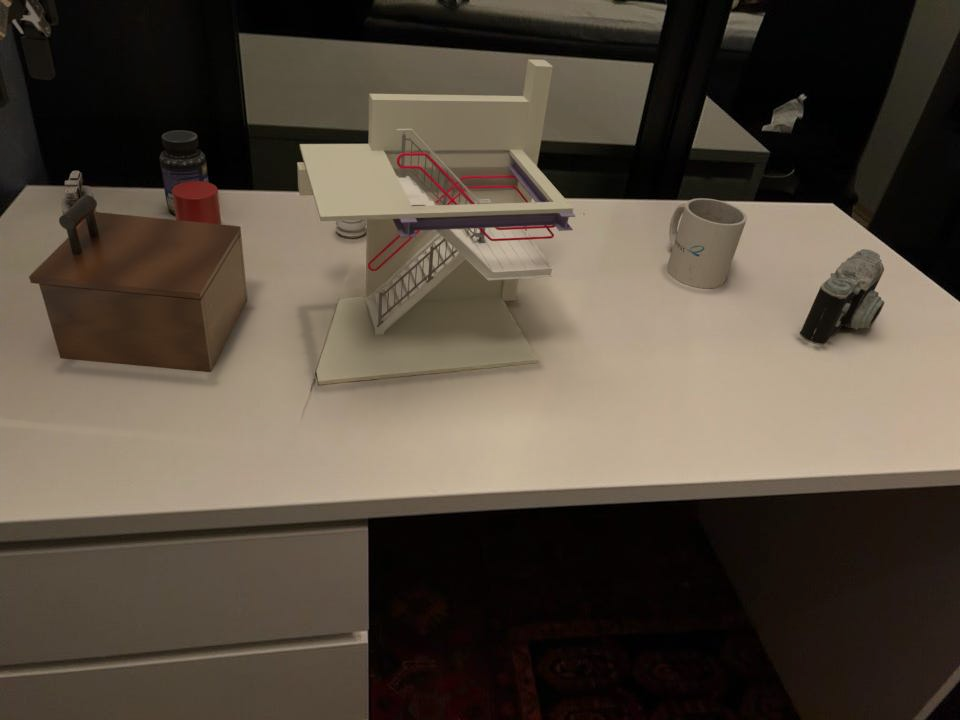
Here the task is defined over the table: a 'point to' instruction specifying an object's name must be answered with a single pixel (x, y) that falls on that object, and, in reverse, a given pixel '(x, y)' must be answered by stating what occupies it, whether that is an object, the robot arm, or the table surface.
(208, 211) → the can
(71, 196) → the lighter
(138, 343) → the chest
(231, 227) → the lid
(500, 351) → the staircase
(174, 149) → the pill bottle
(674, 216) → the mug
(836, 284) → the camera
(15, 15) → the robot arm
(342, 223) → the rook chess piece
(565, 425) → the table surface
